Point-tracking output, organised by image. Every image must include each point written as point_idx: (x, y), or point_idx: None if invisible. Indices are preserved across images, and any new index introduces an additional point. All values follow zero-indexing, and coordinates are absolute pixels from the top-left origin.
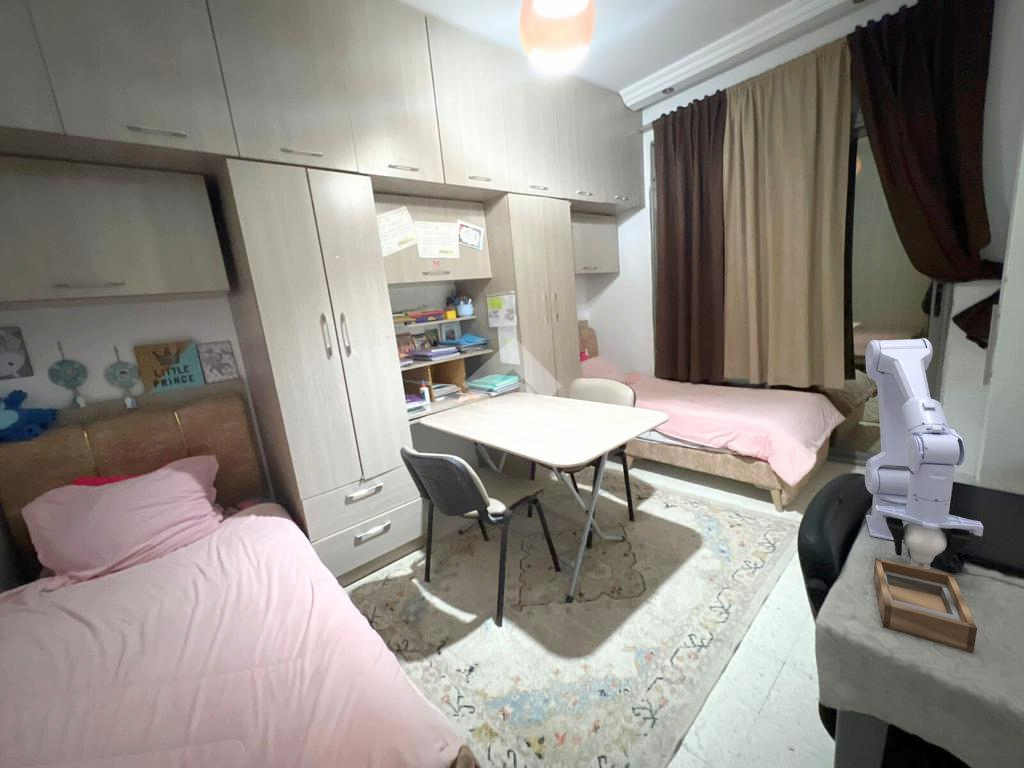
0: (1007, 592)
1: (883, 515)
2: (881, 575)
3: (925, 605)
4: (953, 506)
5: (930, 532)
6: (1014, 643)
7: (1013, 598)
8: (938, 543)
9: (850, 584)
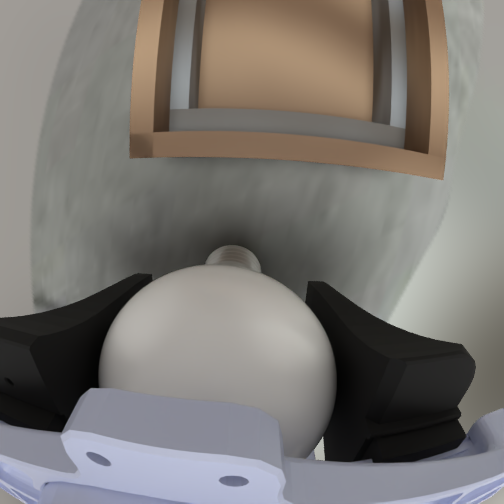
0: (41, 255)
1: (490, 442)
2: (438, 34)
3: (263, 30)
4: None
5: (178, 394)
6: (80, 5)
7: (33, 230)
8: (140, 310)
9: (454, 105)
